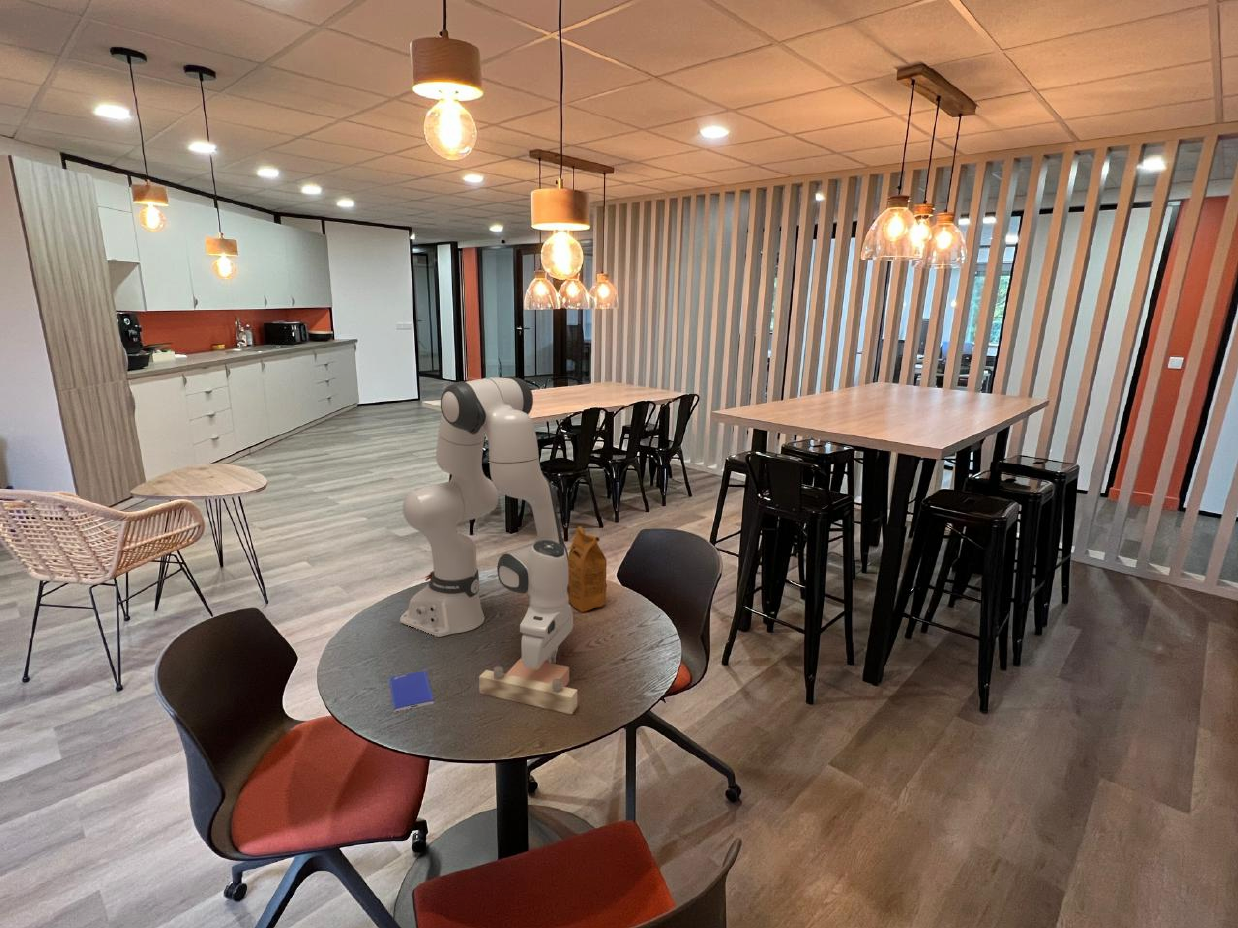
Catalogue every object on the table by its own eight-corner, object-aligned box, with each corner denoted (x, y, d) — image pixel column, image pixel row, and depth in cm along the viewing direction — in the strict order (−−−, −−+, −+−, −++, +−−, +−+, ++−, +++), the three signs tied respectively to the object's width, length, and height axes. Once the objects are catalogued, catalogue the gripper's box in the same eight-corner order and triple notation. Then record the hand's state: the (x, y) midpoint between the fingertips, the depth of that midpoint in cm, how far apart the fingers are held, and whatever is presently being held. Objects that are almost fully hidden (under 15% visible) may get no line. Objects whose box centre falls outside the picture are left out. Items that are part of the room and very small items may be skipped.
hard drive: (388, 677, 142) (393, 708, 131) (425, 669, 146) (434, 699, 135) (388, 683, 143) (394, 714, 132) (426, 675, 146) (434, 705, 135)
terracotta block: (505, 691, 140) (504, 675, 139) (521, 672, 148) (521, 657, 147) (554, 702, 137) (554, 685, 136) (569, 682, 144) (569, 667, 143)
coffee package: (592, 591, 191) (592, 522, 186) (610, 608, 180) (611, 535, 175) (561, 597, 187) (561, 526, 182) (578, 614, 176) (578, 540, 171)
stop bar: (479, 692, 139) (478, 668, 137) (486, 685, 142) (485, 661, 140) (571, 714, 132) (571, 688, 131) (577, 706, 135) (577, 681, 133)
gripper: (555, 591, 154) (555, 642, 157) (515, 629, 135) (517, 686, 139) (579, 595, 152) (579, 647, 156) (542, 634, 133) (543, 692, 137)
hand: (549, 666), depth 147 cm, fingers closed
